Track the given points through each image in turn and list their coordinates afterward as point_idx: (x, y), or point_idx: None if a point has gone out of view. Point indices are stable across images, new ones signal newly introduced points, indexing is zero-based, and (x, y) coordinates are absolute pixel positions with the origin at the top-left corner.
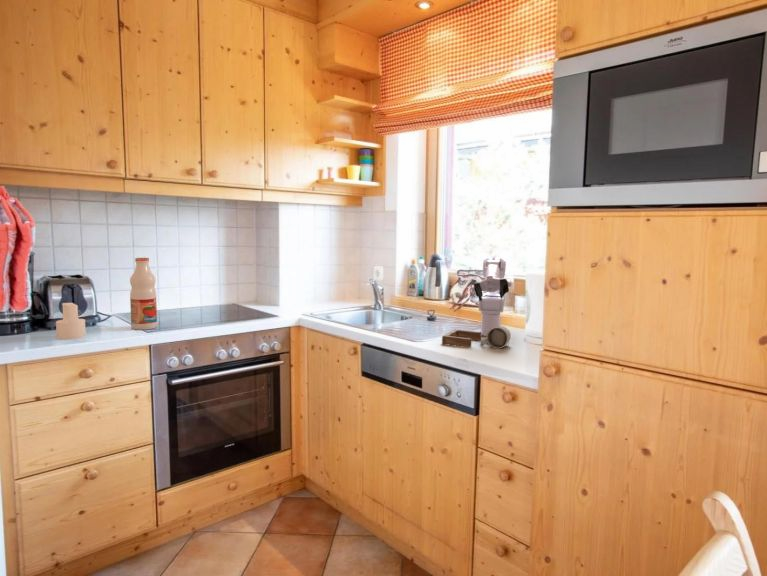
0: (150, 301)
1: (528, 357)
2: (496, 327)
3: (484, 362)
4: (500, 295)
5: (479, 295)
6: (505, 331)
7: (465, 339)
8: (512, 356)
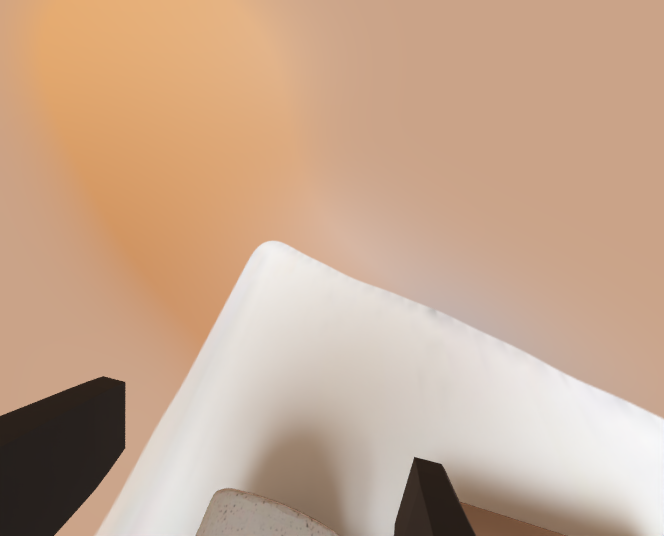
0: None
1: (195, 389)
2: (270, 501)
3: (366, 295)
4: (118, 413)
5: (426, 467)
6: (218, 492)
7: (485, 511)
8: (254, 388)
